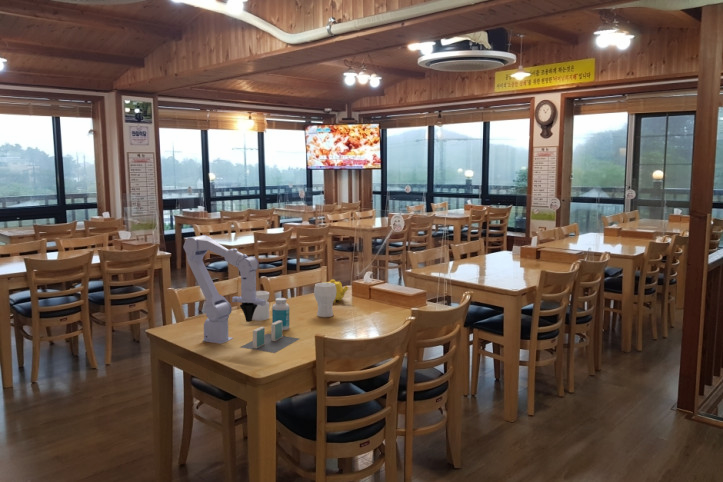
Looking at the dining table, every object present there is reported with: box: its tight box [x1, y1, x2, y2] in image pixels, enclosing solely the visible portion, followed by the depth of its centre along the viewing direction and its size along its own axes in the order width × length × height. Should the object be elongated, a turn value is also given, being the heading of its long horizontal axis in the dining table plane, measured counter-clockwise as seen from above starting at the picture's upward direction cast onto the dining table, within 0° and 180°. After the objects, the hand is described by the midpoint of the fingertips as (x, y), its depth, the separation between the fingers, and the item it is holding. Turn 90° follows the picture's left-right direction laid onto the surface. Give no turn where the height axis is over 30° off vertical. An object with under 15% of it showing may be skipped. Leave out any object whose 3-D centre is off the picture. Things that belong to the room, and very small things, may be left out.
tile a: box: [252, 326, 266, 348], centre depth 228 cm, size 2×6×7 cm, turn 157°
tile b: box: [270, 320, 283, 341], centre depth 237 cm, size 2×6×7 cm, turn 157°
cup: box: [313, 281, 336, 318], centre depth 276 cm, size 11×11×15 cm
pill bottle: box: [271, 297, 290, 331], centre depth 252 cm, size 8×7×14 cm
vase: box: [252, 290, 270, 321], centre depth 269 cm, size 9×9×12 cm
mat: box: [240, 333, 301, 354], centre depth 233 cm, size 16×20×1 cm
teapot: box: [327, 279, 349, 304], centre depth 305 cm, size 14×14×11 cm
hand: (249, 321), depth 229 cm, fingers closed
